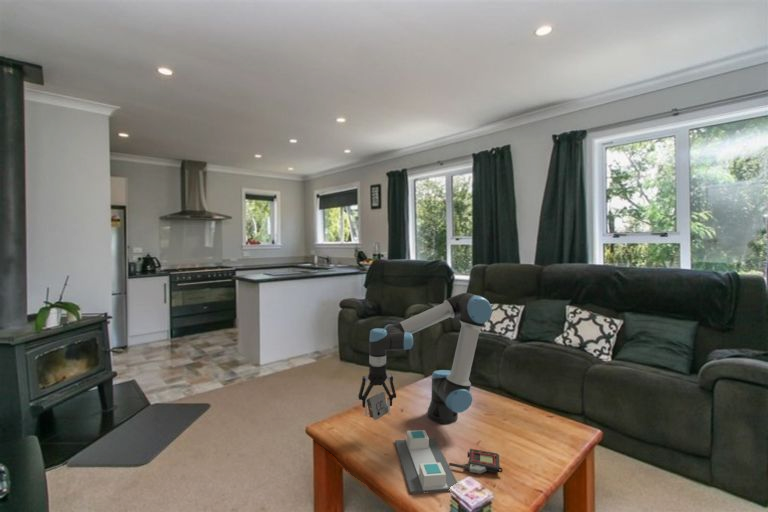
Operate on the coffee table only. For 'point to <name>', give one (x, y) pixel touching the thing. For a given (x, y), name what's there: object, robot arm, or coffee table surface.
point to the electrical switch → (377, 405)
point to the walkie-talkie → (481, 462)
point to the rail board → (412, 470)
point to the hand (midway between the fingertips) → (377, 413)
